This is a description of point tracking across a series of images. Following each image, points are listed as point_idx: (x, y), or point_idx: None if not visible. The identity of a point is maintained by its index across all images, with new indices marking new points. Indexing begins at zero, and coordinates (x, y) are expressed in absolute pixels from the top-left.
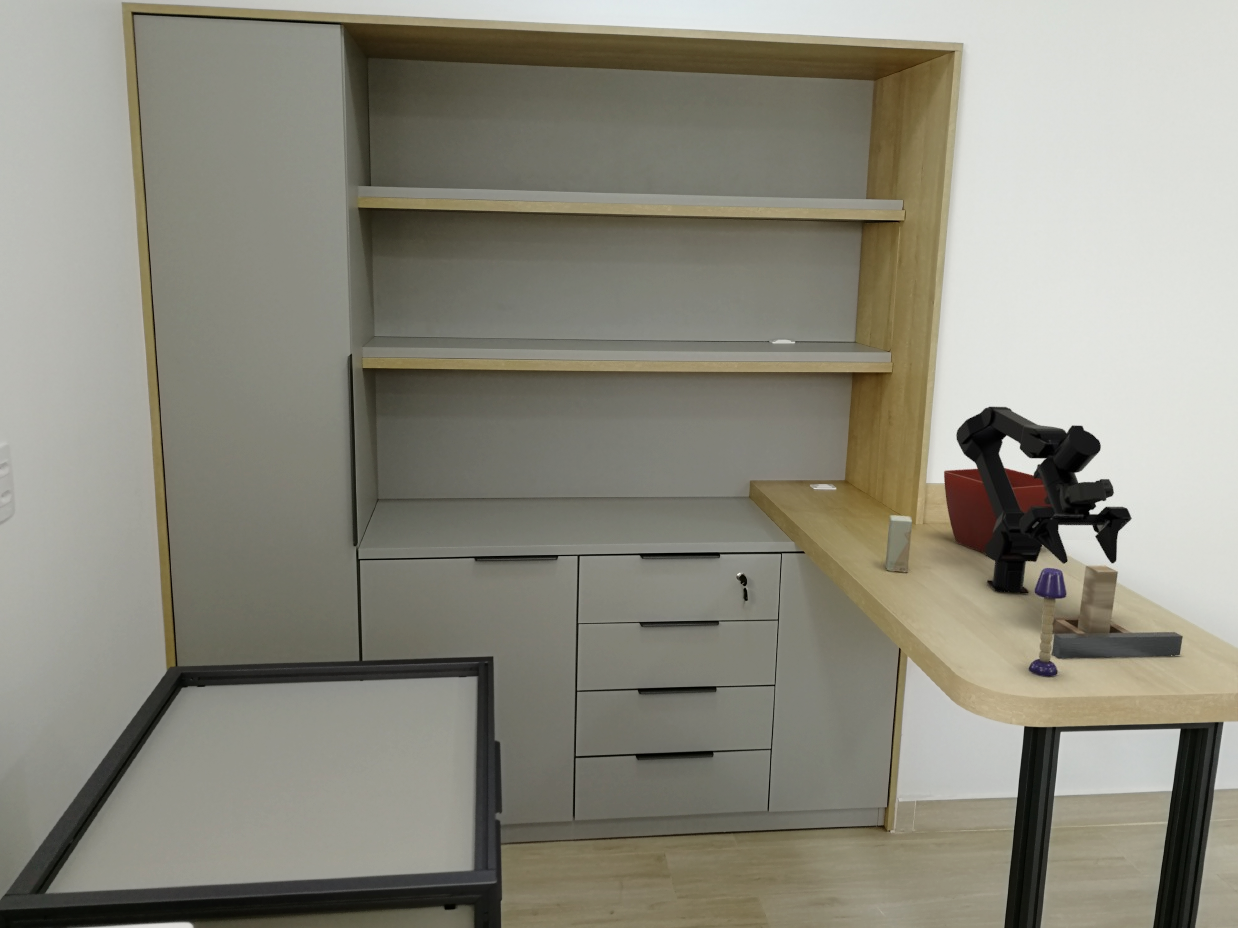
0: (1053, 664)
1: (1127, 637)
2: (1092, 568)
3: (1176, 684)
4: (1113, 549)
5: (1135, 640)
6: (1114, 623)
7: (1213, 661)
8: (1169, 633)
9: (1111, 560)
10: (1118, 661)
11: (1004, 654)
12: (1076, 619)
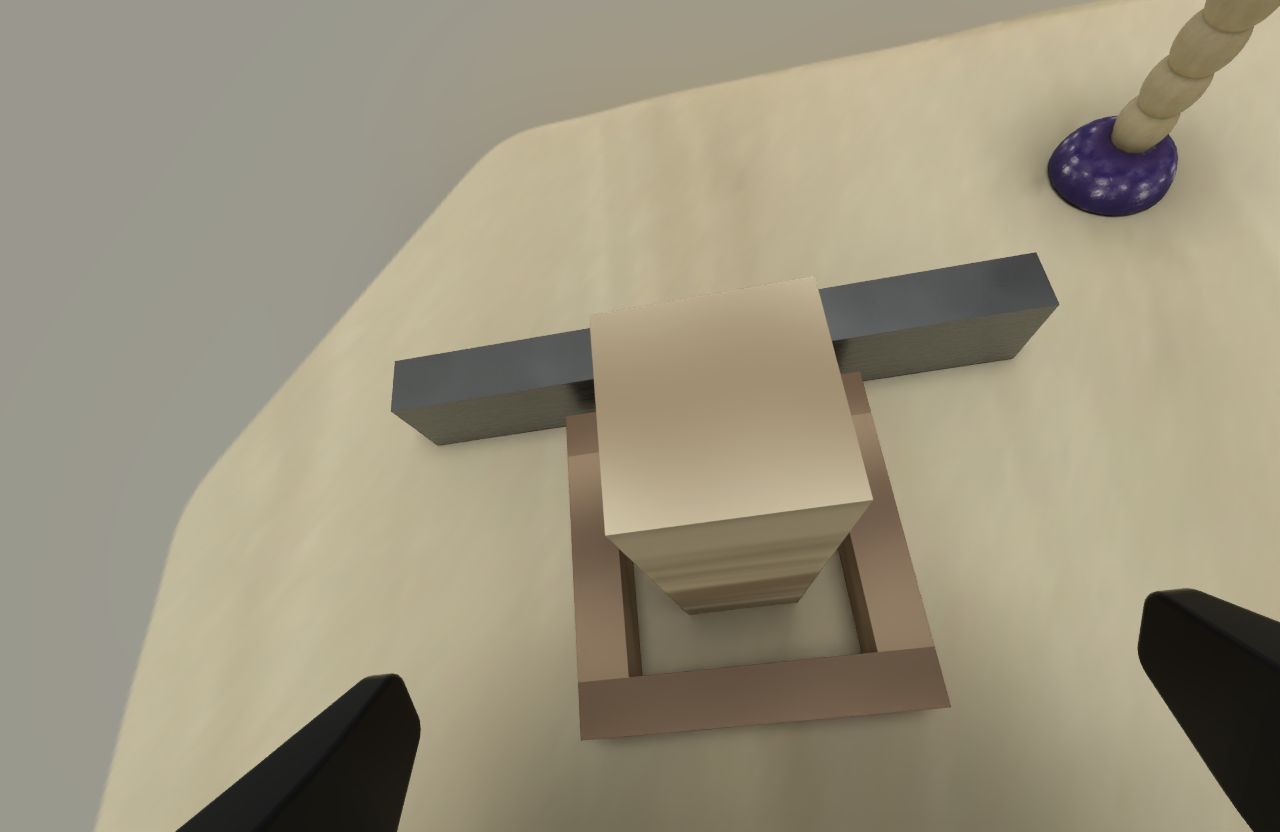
0: (1088, 132)
1: None
2: (834, 385)
3: (628, 157)
4: (260, 807)
5: None
6: (579, 609)
7: (350, 364)
8: (430, 388)
9: (401, 742)
10: None
11: (1269, 323)
12: (785, 669)
